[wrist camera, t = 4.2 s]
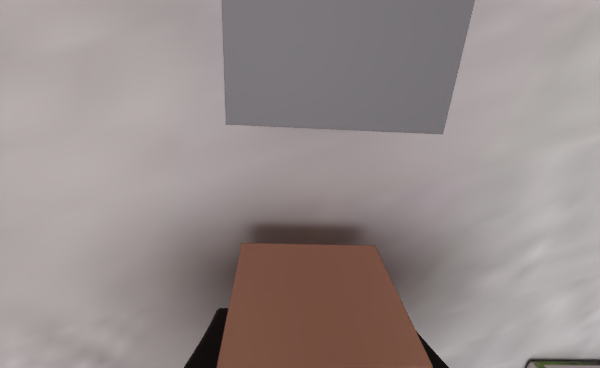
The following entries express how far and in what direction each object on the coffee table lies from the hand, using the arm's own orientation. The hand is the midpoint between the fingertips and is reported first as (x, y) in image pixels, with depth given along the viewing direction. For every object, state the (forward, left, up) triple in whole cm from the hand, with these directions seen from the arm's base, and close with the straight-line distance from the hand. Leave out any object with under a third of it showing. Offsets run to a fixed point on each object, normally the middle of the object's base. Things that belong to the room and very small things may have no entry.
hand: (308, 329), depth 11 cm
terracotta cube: (0, 0, -2) cm, 2 cm away
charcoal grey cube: (+10, 0, -4) cm, 11 cm away
